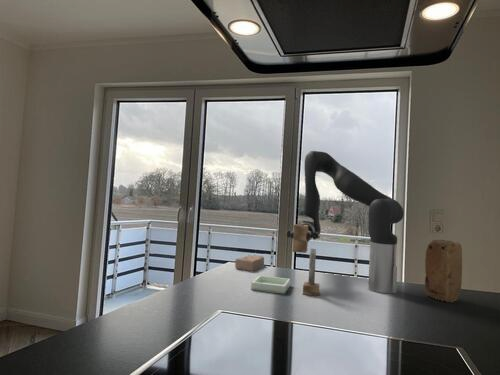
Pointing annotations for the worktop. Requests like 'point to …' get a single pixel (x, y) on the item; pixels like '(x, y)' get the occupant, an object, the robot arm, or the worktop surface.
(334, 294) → the worktop surface
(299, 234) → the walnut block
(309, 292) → the stand
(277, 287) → the tray
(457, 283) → the block
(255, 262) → the brick
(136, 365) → the worktop surface
